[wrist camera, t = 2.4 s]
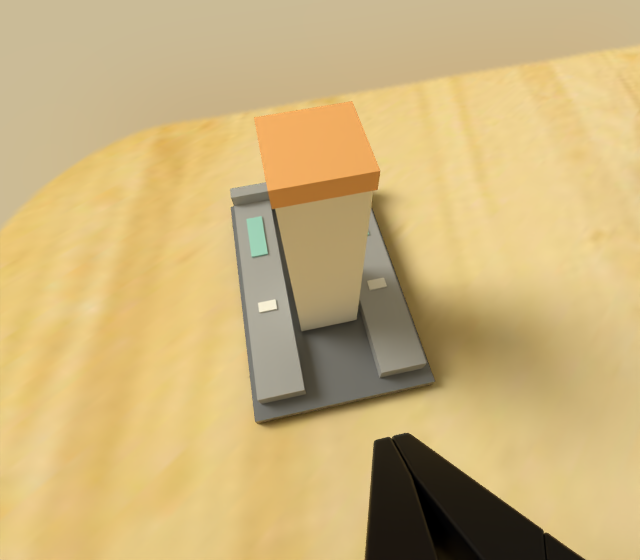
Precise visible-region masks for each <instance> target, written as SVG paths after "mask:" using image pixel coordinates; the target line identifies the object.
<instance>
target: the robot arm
mask: <svg viewBox="0 0 640 560" xmlns="http://www.w3.org/2000/svg"><path fill="white" fill-rule="evenodd" d="M365 560H585V559H584V558H582V557H581V556H580V555H578V554H577V553H575V552H574V551H572V550H571V549H569V548H568V547H567V546H565V545H564V544H562V543H561V542H560V541H558V540H557V539H555V538H554V537H553V536H551V535H550V534H549V533H544V531H543V529H541V528H540V527H539V526H537V525H536V524H534V523H533V522H532V521H530V520H529V519H527V518H526V517H525V516H523V515H522V514H521V513H519V512H518V511H516V510H515V509H514V508H512V507H511V506H509V505H508V504H507V503H505V502H504V501H503V500H501V499H500V498H498V497H497V496H496V495H494V494H493V493H491V492H490V491H489V490H487V489H486V488H485V487H483V486H482V485H480V484H479V483H478V482H476V481H475V480H473V479H472V478H471V477H469V476H468V475H467V474H465V473H464V472H462V471H461V470H460V469H458V468H457V467H455V466H454V465H453V464H451V463H450V462H449V461H447V460H446V459H444V458H443V457H442V456H440V455H439V454H437V453H436V452H435V451H433V450H432V449H431V448H429V447H428V446H426V445H425V444H424V443H422V442H421V441H419V440H418V439H417V438H415V437H414V436H413V435H411V434H409V433H404V434H399V435H395V436H393V437H392V439H391V438H390V437H386V438H382V439H378V440H375V441H374V447H373V460H372V473H371V486H370V499H369V511H368V524H367V537H366V550H365Z"/></svg>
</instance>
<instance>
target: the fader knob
mask: <svg viewBox="0 0 640 560" xmlns="http://www.w3.org/2000/svg"><path fill="white" fill-rule="evenodd" d="M254 120H255V125H256V130H257V136H258V141H259V147H260V152H261V158H262V163H263V168H264V174H265V179H266V185H267V190H268V195H269V199H270V203H271V208H272V209H275V211H276V215H277V220H278V225H279V229H280V234H281V239H282V243H283V248H284V252H285V257H286V262H287V266H288V271H289V276H290V280H291V285H292V289H293V294H294V299H295V303H296V308H297V313H298V317H299V322H300V326H301V331H306V330H310V329H315V328H320V327H325V326H330V325H334V324H339V323H344V322H349V321H353V320H357V312H358V305H359V297H360V289H361V282H362V274H363V266H364V258H365V251H366V243H367V235H368V228H369V220H370V212H371V205H372V197H373V190H378V183H379V176H380V169H379V166H378V164H377V161H376V159H375V156H374V154H373V152H372V149H371V147H370V144H369V142H368V139H367V137H366V134H365V132H364V129H363V127H362V124H361V122H360V119H359V117H358V115H357V112H356V110H355V107H354V105H353V102H352V101H351V102H345V103H339V104H333V105H327V106H321V107H314V108H308V109H302V110H296V111H290V112H284V113H278V114H272V115H266V116H260V117H254Z"/></svg>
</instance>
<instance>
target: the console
mask: <svg viewBox="0 0 640 560" xmlns="http://www.w3.org/2000/svg"><path fill="white" fill-rule="evenodd" d="M230 192H231V199H232V201H233V204H234V206H233V207H231V213H232V222H233V231H234V240H235V249H236V257H237V266H238V275H239V284H240V293H241V301H242V310H243V319H244V328H245V337H246V346H247V354H248V363H249V372H250V381H251V390H252V398H253V407H254V416H255V422H256V423H257V424H258V423H262V422H267V421H271V420H276V419H280V418H284V417H289V416H293V415H298V414H302V413H307V412H311V411H315V410H320V409H324V408H329V407H333V406H338V405H342V404H347V403H351V402H355V401H360V400H364V399H369V398H373V397H378V396H382V395H387V394H391V393H395V392H400V391H404V390H409V389H413V388H418V387H422V386H427V385H431V384H433V383H434V382H435V380H434V377H433V374H432V372H431V369H430V366H429V363H428V361H427V358H426V355H425V352H424V350H423V347H422V344H421V341H420V339H419V336H418V333H417V330H416V328H415V325H414V322H413V319H412V317H411V314H410V311H409V308H408V306H407V303H406V300H405V298H404V295H403V292H402V289H401V287H400V284H399V281H398V278H397V276H396V273H395V270H394V267H393V265H392V262H391V259H390V256H389V254H388V251H387V248H386V245H385V243H384V240H383V237H382V234H381V232H380V229H379V226H378V223H377V221H376V218H375V215H374V212H373V210H372V207H371V212H370V220H369V228H368V235H367V243H366V251H365V258H364V266H363V274H362V282H361V289H360V297H359V305H358V312H357V320H353V321H349V322H344V323H339V324H334V325H330V326H325V327H320V328H315V329H310V330H306V331H301V326H300V322H299V317H298V313H297V308H296V303H295V299H294V294H293V289H292V285H291V280H290V276H289V271H288V266H287V262H286V257H285V252H284V248H283V243H282V239H281V234H280V229H279V225H278V220H277V215H276V211H275V209H272V208H271V203H270V199H269V195H268V190H267V185H266V183H260V184H255V185H249V186H243V187H238V188H232V189H230Z"/></svg>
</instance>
